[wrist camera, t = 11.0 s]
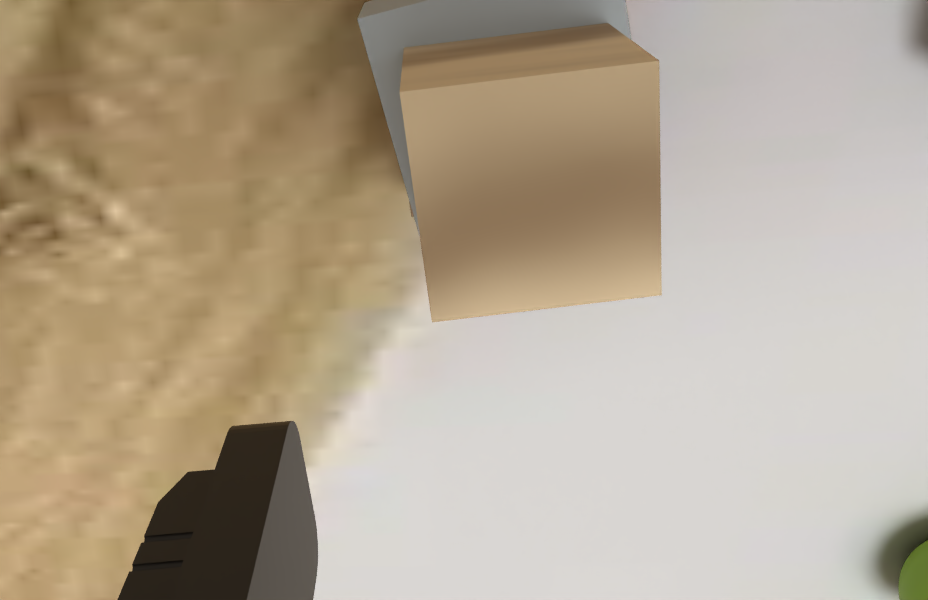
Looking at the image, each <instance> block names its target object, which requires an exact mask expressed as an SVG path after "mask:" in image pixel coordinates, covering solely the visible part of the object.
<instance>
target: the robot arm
mask: <svg viewBox="0 0 928 600" xmlns="http://www.w3.org/2000/svg"><path fill="white" fill-rule="evenodd" d="M144 537H145V541H144V543H141V545H140V547H139V550H138V552H137V554H136V557H135V559H134V562H133V564H132V565H133V570H132V572H129V574H128V576H127V578H126V581H125V583H124V586H123V588H122V590H121V593H120V595H119V598H118V600H313V596H314V590H315V583H316V576H317V566H318V541H317V528H316V521H315V515H314V510H313V505H312V499H311V494H310V489H309V483H308V478H307V473H306V468H305V462H304V457H303V452H302V446H301V441H300V436H299V432H298V429H297V426H296V424H295V422H294V421H286V422H274V423H263V424H251V425H239V426H232V427H231V428H230V429H229V431H228V433H227V436H226V439H225V442H224V444H223V447H222V450H221V453H220V456H219V459H218V462H217V465H216V468H215V470H205V471H193V472H187V473H186V475H185V476H184V477H183V478H182V479H181V480H180V481H179V482H178V483H177V484H176V485H175V486H174V487H173V488H172V489H171V490H170V491H169V492H168V493H167V494H166V495H165V496H164V497H163V498H162V499H161V500H160V501H159V502H158V504H157V507H156V509H155V511H154V514H153V516H152V519H151V521H150V523H149V526H148V528H147V531H146V533H145V535H144Z"/></svg>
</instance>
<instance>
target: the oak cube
mask: <svg viewBox="0 0 928 600" xmlns="http://www.w3.org/2000/svg"><path fill="white" fill-rule="evenodd" d="M400 99H401V106H402V113H403V120H404V127H405V134H406V142H407V149H408V156H409V163H410V170H411V177H412V184H413V191H414V198H415V205H416V212H417V219H418V226H419V233H420V240H421V247H422V254H423V261H424V268H425V276H426V283H427V290H428V297H429V304H430V311H431V318H432V322H439V321H447V320H455V319H464V318H472V317H481V316H489V315H498V314H506V313H514V312H523V311H531V310H540V309H548V308H557V307H565V306H573V305H582V304H590V303H599V302H607V301H616V300H624V299H632V298H641V297H649V296H658V295H661V199H660V103H659V60H657V59H656V58H655V57H653V56H652V55H651V54H649V53H648V52H647V51H645V50H644V49H643V48H641V47H640V46H638V45H637V44H636V43H634V42H633V41H632V40H630V39H629V38H628V37H626V36H625V35H624V34H622V33H621V32H620V31H618V30H617V29H616V28H614V27H613V26H611V25H610V24H609V23H603V24H594V25H586V26H578V27H569V28H561V29H553V30H545V31H536V32H528V33H520V34H512V35H503V36H495V37H487V38H478V39H470V40H462V41H454V42H445V43H437V44H429V45H420V46H412V47H404V52H403V62H402V72H401V82H400Z"/></svg>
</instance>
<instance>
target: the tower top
mask: <svg viewBox="0 0 928 600" xmlns="http://www.w3.org/2000/svg"><path fill="white" fill-rule="evenodd" d="M357 20H358V23H359V27H360V30H361V34H362V37H363V41H364V44H365V48H366V51H367V55H368V58H369V61H370V65H371V68H372V72H373V75H374V79H375V82H376V86H377V89H378V93H379V96H380V100H381V103H382V107H383V110H384V114H385V117H386V121H387V124H388V128H389V131H390V135H391V138H392V142H393V145H394V149H395V152H396V156H397V159H398V163H399V166H400V170H401V173H402V177H403V180H404V184H405V187H406V191H407V194H408V198H409V201H410V204H411V208H412V211H413V215H414V218H415V222H416V225H417V229H418V232H419V226H418V219H417V212H416V205H415V198H414V191H413V184H412V177H411V170H410V163H409V156H408V149H407V142H406V134H405V127H404V120H403V113H402V106H401V99H400V82H401V72H402V62H403V52H404V47H412V46H420V45H429V44H437V43H445V42H454V41H462V40H470V39H478V38H487V37H495V36H503V35H512V34H520V33H528V32H536V31H545V30H553V29H561V28H569V27H578V26H586V25H594V24H603V23H609V24H610V25H611V26H613V27H614V28H616V29H617V30H618V31H620V32H621V33H622V34H624V35H625V36H626V37H628V38H629V39H630V40H631V33H630V27H629V20H628V14H627V7H626V1H625V0H372V1H368V2H365V3H364V5H363V7H362V9H361V12H360V14H359V16H358V18H357ZM419 236H420V233H419Z"/></svg>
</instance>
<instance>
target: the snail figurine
mask: <svg viewBox="0 0 928 600" xmlns="http://www.w3.org/2000/svg"><path fill="white" fill-rule="evenodd" d="M898 590H899V599H900V600H928V540H927V541H925V542H924V543H922V544H921V545H919V546H918V547H917V548H915V549H914V550H913V551H912V552H911V554H910V555H909V556H908V558H907V559H906V561H905V562H904V564H903V567H902V569H901V572H900V576H899V584H898Z"/></svg>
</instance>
